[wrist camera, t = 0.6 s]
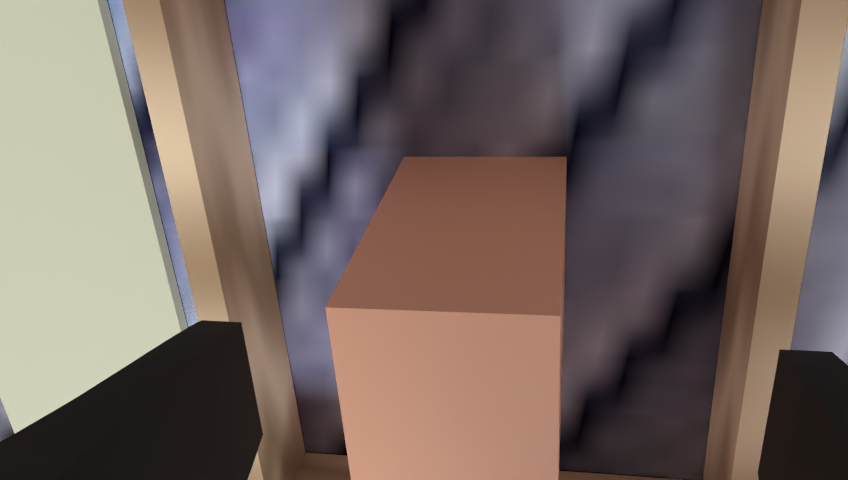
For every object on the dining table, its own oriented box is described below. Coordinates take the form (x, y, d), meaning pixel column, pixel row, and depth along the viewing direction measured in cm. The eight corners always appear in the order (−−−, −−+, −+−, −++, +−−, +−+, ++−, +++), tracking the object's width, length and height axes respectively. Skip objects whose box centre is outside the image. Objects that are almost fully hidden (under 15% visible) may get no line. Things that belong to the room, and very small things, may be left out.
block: (564, 298, 21) (558, 496, 15) (415, 293, 22) (351, 480, 15) (567, 156, 19) (560, 315, 13) (403, 156, 20) (325, 307, 14)
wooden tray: (728, 503, 23) (747, 590, 20) (285, 469, 25) (251, 543, 23) (829, -179, 15) (882, -178, 12) (166, -131, 17) (93, -121, 15)
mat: (217, 446, 26) (212, 454, 25) (24, 432, 27) (17, 440, 26) (85, -86, 18) (76, -84, 18) (-171, -70, 19) (-184, -68, 19)
